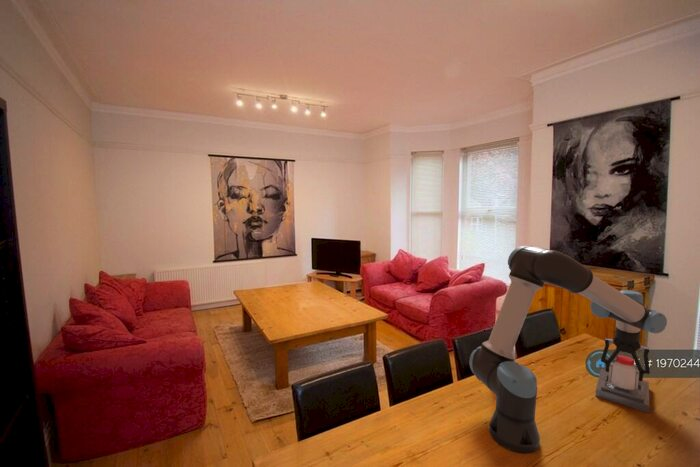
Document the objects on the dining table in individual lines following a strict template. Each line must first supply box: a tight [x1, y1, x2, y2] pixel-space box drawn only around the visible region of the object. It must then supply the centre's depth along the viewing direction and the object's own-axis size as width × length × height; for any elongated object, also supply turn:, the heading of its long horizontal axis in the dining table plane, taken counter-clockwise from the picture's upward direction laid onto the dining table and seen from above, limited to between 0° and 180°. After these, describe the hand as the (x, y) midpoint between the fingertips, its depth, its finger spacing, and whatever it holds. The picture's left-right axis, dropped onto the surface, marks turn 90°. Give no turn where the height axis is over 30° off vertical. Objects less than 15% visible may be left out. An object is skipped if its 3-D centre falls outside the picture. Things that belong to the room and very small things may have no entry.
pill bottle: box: [611, 354, 638, 390], centre depth 132 cm, size 8×8×11 cm
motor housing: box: [595, 362, 650, 414], centre depth 135 cm, size 22×16×10 cm
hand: (622, 383), depth 133 cm, fingers closed on pill bottle, 8 cm apart
